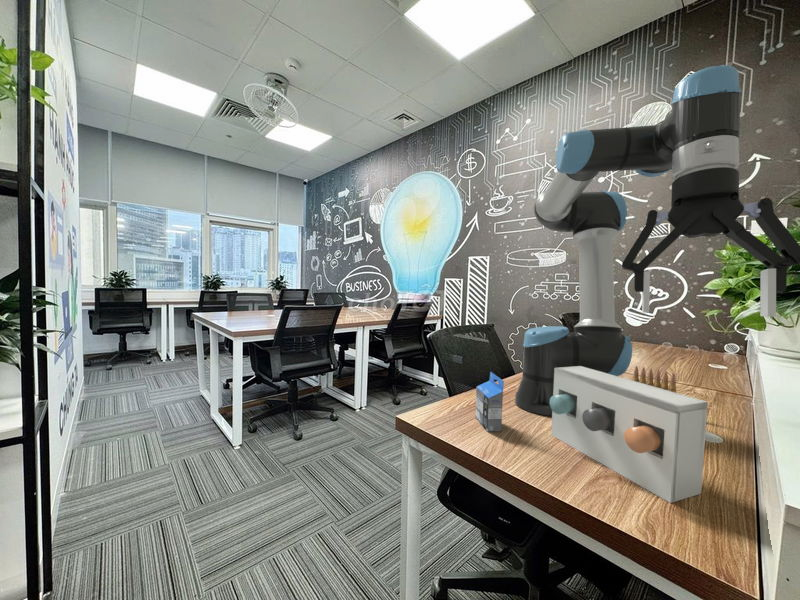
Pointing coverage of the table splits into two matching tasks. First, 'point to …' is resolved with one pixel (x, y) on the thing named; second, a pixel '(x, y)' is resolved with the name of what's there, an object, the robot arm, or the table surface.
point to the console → (631, 407)
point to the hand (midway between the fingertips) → (702, 314)
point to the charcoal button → (597, 419)
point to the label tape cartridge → (490, 404)
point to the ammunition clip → (657, 379)
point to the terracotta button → (642, 439)
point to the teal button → (562, 404)
